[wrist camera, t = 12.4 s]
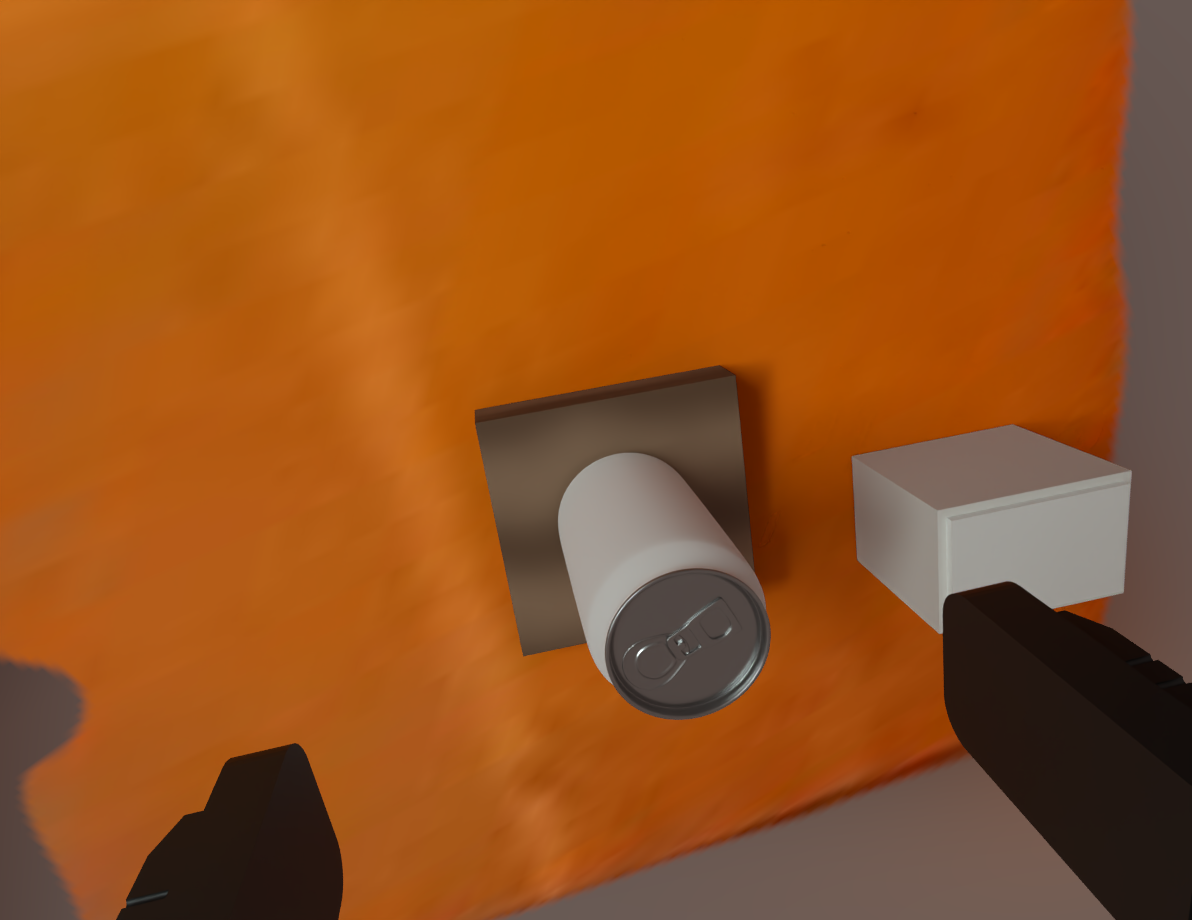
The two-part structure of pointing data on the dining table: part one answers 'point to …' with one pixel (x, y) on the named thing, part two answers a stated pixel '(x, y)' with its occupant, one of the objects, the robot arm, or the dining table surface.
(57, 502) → the dining table surface
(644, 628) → the can
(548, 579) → the base
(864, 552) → the white box
